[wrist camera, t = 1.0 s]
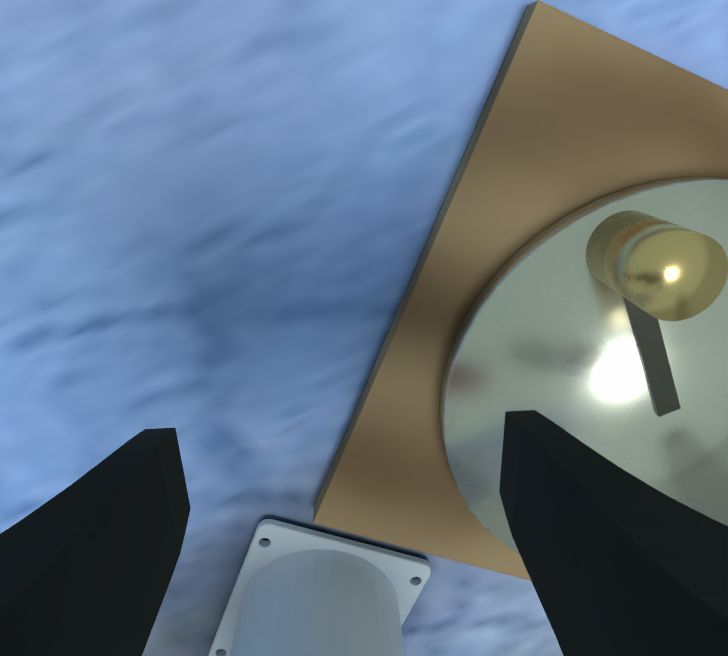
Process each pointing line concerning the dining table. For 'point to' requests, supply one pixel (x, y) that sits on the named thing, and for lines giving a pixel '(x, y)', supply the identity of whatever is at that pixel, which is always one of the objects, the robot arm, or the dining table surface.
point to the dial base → (508, 256)
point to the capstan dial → (604, 347)
